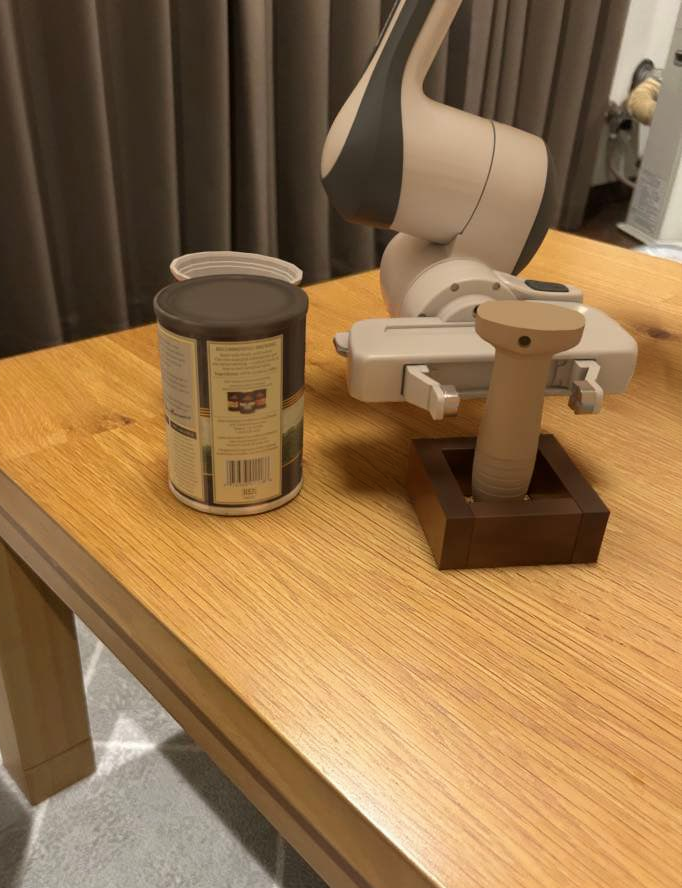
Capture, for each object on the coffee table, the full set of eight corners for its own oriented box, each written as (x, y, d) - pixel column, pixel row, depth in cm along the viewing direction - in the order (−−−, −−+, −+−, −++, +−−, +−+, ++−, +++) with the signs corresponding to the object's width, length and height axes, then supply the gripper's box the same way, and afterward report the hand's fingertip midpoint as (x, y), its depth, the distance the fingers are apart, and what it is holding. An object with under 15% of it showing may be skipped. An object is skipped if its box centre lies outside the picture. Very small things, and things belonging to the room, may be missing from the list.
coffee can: (248, 435, 71) (246, 263, 63) (331, 486, 65) (341, 301, 57) (140, 473, 66) (123, 291, 58) (219, 534, 59) (212, 337, 51)
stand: (542, 480, 66) (552, 433, 63) (596, 562, 57) (610, 511, 55) (405, 485, 65) (410, 438, 63) (439, 569, 56) (446, 518, 54)
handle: (536, 548, 58) (583, 335, 50) (441, 530, 60) (471, 321, 51) (542, 511, 62) (587, 308, 53) (453, 496, 64) (482, 295, 55)
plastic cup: (323, 409, 75) (329, 271, 68) (212, 438, 71) (207, 294, 64) (261, 365, 83) (261, 238, 76) (158, 389, 78) (148, 255, 72)
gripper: (331, 290, 64) (362, 365, 53) (597, 284, 66) (684, 356, 54) (327, 370, 68) (356, 456, 56) (580, 362, 69) (658, 445, 58)
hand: (519, 407), depth 55 cm, fingers open, 8 cm apart
